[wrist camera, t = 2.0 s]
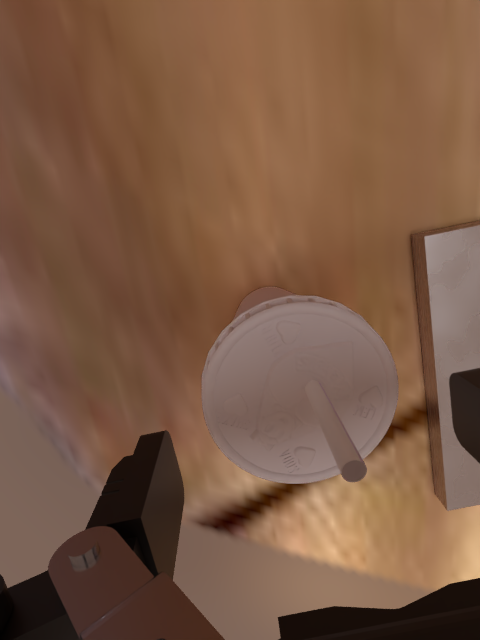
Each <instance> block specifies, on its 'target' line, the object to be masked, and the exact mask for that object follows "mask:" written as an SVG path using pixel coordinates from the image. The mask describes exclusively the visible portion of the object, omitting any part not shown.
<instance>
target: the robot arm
mask: <svg viewBox="0 0 480 640" xmlns="http://www.w3.org/2000/svg"><path fill="white" fill-rule="evenodd" d="M449 387H450V399H451V411H452V423H453V429H454V432H455V435H456V437H457V439H458V441H459V443H460V444H461V446H462V447H463V448H464V449H465V450H466V451H467V452H468V453H469V454H470V455H471V456H472V457H473V458H474V459H475V460H476V461H477V462H478V463H480V368H476V369H471V370H466V371H461V372H456V373H452V374H451V375H450V378H449ZM101 494H102V496H100V498H99V500H98V502H97V504H96V507H95V509H94V511H93V513H92V516H91V518H90V520H89V522H88V525H87V527H86V529H85V530H84V531H82V532H80V533H78V534H76V535H74V536H72V537H71V538H69V539H68V540H67V541H66V542H64V543H63V544H62V545H61V546H60V547H59V548H58V549H57V551H56V552H55V553H54V554H53V556H52V558H51V560H50V562H49V566H48V570H47V571H45V572H44V573H41V574H39V575H37V576H35V577H32V578H30V579H28V580H26V581H23V582H21V583H19V584H17V585H14V586H12V587H10V588H7V586H6V584H5V581H4V579H3V577H2V576H1V575H0V640H225V639H224V638H223V637H222V636H221V635H220V634H219V633H218V632H217V630H216V629H215V628H214V627H213V626H212V625H211V624H210V622H209V621H208V620H207V619H206V618H205V617H204V616H203V615H202V613H201V612H200V611H199V610H198V609H197V608H196V607H195V605H194V604H193V603H192V602H191V601H190V600H189V599H188V597H187V596H186V595H185V594H184V593H183V592H182V591H181V589H180V588H179V587H178V586H177V585H176V584H175V583H174V582H173V574H174V567H175V561H176V554H177V546H178V540H179V533H180V526H181V519H182V512H183V505H184V487H183V481H182V476H181V473H180V469H179V465H178V462H177V458H176V454H175V451H174V447H173V443H172V440H171V437H170V434H169V432H168V431H167V430H166V431H161V432H156V433H151V434H146V435H142V436H140V438H139V441H138V443H137V446H136V448H135V451H134V454H133V455H131V456H126V457H124V458H123V459H122V460H121V461H120V462H119V463H118V464H117V465H116V466H115V467H114V468H113V469H112V471H111V473H110V475H109V477H108V480H107V482H106V485H105V486H104V489H103V491H102V493H101ZM278 621H279V628H280V636H281V638H280V639H279V640H480V578H478V579H472V580H467V581H462V582H457V583H452V584H449V585H447V586H445V587H443V588H441V589H439V590H437V591H435V592H433V593H431V594H429V595H427V596H425V597H423V598H421V599H419V600H417V601H415V602H412V603H410V604H408V605H406V606H405V607H402V608H399V609H377V608H357V607H337V606H334V607H329V608H323V609H318V610H312V611H307V612H302V613H297V614H292V615H286V616H282V617H278Z"/></svg>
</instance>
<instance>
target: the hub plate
mask: <svg viewBox="0 0 480 640" xmlns="http://www.w3.org/2000/svg"><path fill="white" fill-rule="evenodd" d="M411 240H412V251H413V262H414V272H415V283H416V294H417V305H418V316H419V327H420V338H421V348H422V359H423V370H424V381H425V392H426V403H427V414H428V424H429V435H430V446H431V457H432V468H433V479H434V490H435V495H436V496H437V497H438V499H439V500H440V501H441V503H442V504H443V506H444V507H445V508H446V510H447V511H449V510H454V509H459V508H465V507H470V506H475V505H480V463H478V462H477V461H476V460H475V459H474V458H473V457H472V456H471V455H470V454H469V453H468V452H467V451H466V450H465V449H464V448H463V447H462V446H461V444H460V443H459V441H458V439H457V437H456V435H455V432H454V429H453V423H452V411H451V399H450V387H449V378H450V375H451V374H452V373H456V372H461V371H466V370H471V369H476V368H480V221H475V222H470V223H465V224H460V225H456V226H451V227H446V228H441V229H436V230H431V231H427V232H422V233H417V234H412V235H411Z"/></svg>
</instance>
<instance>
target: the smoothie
mask: <svg viewBox="0 0 480 640" xmlns="http://www.w3.org/2000/svg"><path fill="white" fill-rule="evenodd" d="M397 400H398V376H397V370H396V367H395V363H394V360H393V358H392V355H391V353H390V351H389V349H388V347H387V345H386V344H385V343H384V341H383V340H382V338H381V337H380V336H379V335H378V333H377V332H376V331H375V330H374V329H373V328H372V327H371V326H370V325H369V324H368V323H367V322H366V321H365V320H364V318H363V317H362V316H360V315H359V314H357V313H356V312H354V311H352V310H351V309H349V308H348V307H346V306H344V305H343V304H341V303H339V302H335V301H332V300H328V299H325V298H322V297H318V296H304V295H296V294H294V293H291V292H289V291H287V290H284V289H282V288H278V287H263V288H259V289H257V290H255V291H253V292H251V293H250V294H248V295H247V296H246V297H245V298H244V299H243V301H242V302H241V303H240V305H239V307H238V309H237V312H236V314H235V316H234V319H233V321H232V322H231V323H230V324H229V325H228V326H227V327H226V328H225V329H224V330H222V332H221V333H220V335H219V336H218V338H217V340H216V341H215V343H214V344H213V346H212V348H211V349H210V351H209V352H208V356H207V359H206V363H205V366H204V369H203V373H202V406H203V413H204V418H205V421H206V425H207V427H208V430H209V432H210V434H211V436H212V438H213V440H214V442H215V443H216V444H217V446H218V447H219V449H220V450H221V451H222V452H223V453H224V454H225V456H227V457H228V458H229V459H230V460H231V461H232V462H233V463H235V464H236V465H237V466H238V467H240V468H242V469H243V470H245V471H247V472H249V473H251V474H253V475H255V476H257V477H260V478H263V479H266V480H270V481H274V482H279V483H289V484H300V483H310V482H316V481H320V480H325V479H328V478H331V477H334V476H336V475H338V474H341V475H342V477H343V478H344V479H345V480H346V481H348V482H357V481H360V480H361V479H363V478H364V476H365V475H366V472H367V467H366V465H365V463H364V461H363V459H364V458H365V457H366V456H367V455H369V454H370V453H371V452H372V451H373V449H374V448H375V447H376V446H377V445H378V444H379V442H380V441H381V440H382V438H383V437H384V435H385V433H386V432H387V430H388V428H389V426H390V424H391V422H392V419H393V416H394V414H395V410H396V406H397Z"/></svg>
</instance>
